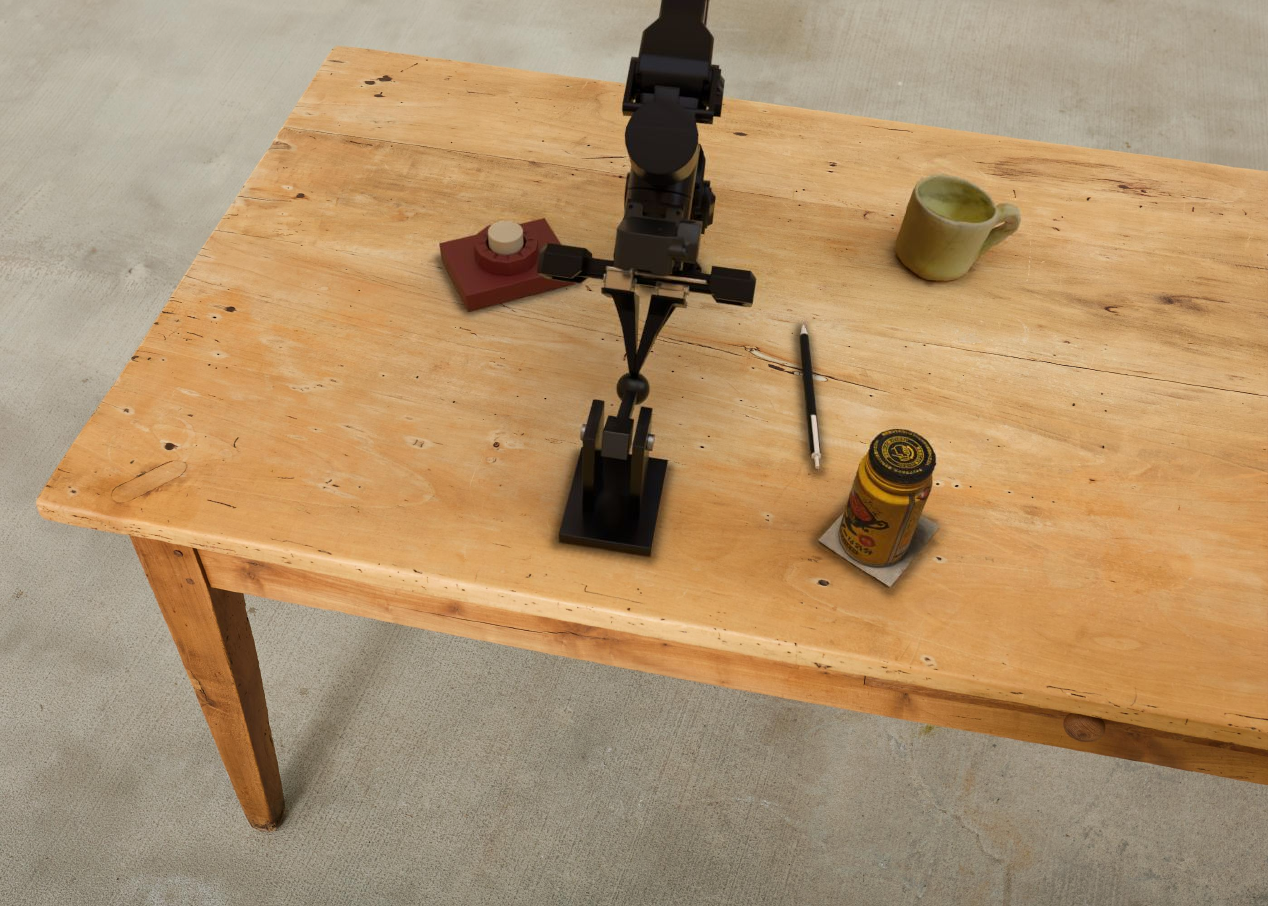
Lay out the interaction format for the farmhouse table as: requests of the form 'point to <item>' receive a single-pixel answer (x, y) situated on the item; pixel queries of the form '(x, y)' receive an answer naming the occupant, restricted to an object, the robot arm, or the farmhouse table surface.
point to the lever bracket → (614, 491)
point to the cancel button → (505, 237)
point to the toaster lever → (624, 416)
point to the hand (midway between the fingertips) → (634, 374)
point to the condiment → (887, 506)
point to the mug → (951, 227)
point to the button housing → (498, 267)
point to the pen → (810, 397)
